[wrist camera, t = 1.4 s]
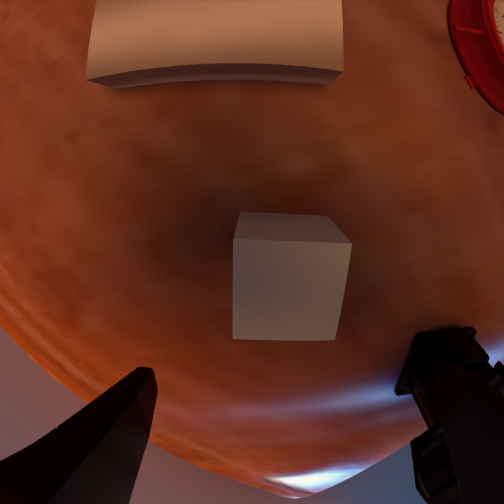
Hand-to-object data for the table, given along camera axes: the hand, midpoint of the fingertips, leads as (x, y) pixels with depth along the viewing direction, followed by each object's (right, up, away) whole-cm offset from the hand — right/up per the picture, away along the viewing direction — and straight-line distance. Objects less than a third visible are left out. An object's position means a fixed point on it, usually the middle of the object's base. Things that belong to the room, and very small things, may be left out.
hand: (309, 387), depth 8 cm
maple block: (-3, +19, +5) cm, 20 cm away
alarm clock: (+18, +20, +4) cm, 27 cm away
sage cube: (0, +4, +10) cm, 11 cm away
